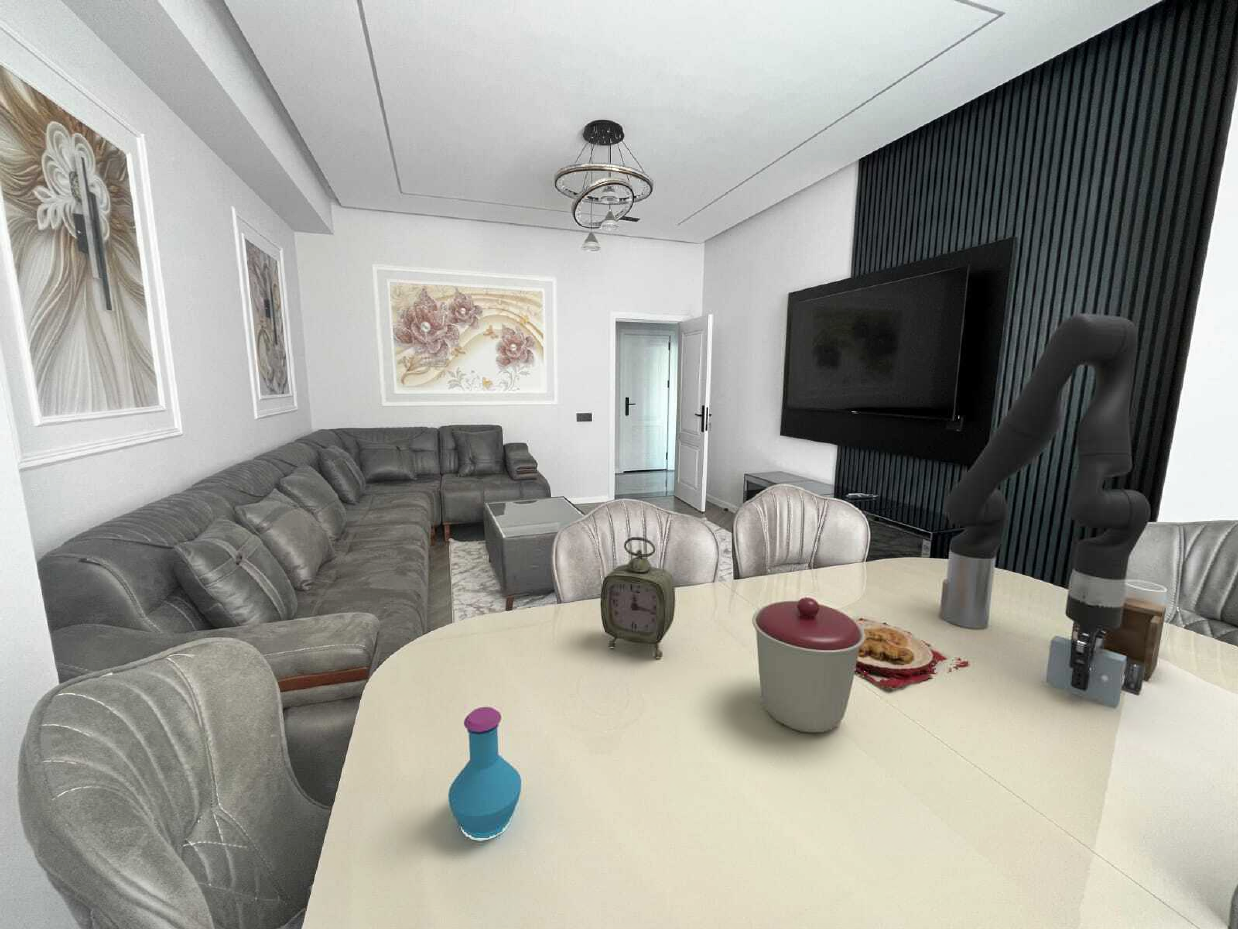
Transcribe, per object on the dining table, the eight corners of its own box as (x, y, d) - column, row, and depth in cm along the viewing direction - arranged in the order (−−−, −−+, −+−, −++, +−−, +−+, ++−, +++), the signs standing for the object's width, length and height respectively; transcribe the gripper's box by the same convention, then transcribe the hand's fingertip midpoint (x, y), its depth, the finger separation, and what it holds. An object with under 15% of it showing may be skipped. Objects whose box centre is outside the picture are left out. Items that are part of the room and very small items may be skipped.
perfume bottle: (458, 794, 72) (453, 695, 70) (525, 790, 73) (522, 692, 71) (441, 853, 63) (435, 741, 61) (518, 847, 64) (515, 737, 62)
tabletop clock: (600, 650, 112) (600, 538, 108) (616, 632, 120) (616, 528, 116) (664, 664, 106) (666, 547, 103) (676, 644, 115) (679, 535, 111)
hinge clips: (1060, 669, 105) (1063, 645, 104) (1063, 664, 107) (1067, 641, 106) (1138, 695, 96) (1142, 670, 95) (1141, 690, 98) (1145, 665, 97)
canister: (853, 694, 96) (861, 586, 93) (864, 760, 79) (875, 630, 76) (752, 676, 102) (757, 574, 99) (743, 734, 85) (748, 613, 82)
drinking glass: (1165, 660, 108) (1177, 592, 106) (1127, 657, 110) (1138, 589, 107) (1140, 645, 115) (1151, 580, 113) (1105, 641, 116) (1114, 578, 114)
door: (1043, 685, 99) (1049, 641, 98) (1049, 678, 102) (1055, 635, 100) (1114, 710, 91) (1121, 663, 90) (1119, 702, 94) (1126, 656, 92)
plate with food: (888, 698, 96) (890, 680, 96) (787, 633, 120) (788, 619, 119) (970, 670, 106) (972, 654, 106) (862, 616, 130) (864, 602, 130)
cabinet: (1068, 656, 110) (1076, 598, 108) (1079, 643, 115) (1087, 588, 113) (1148, 681, 100) (1158, 618, 98) (1156, 666, 106) (1166, 606, 104)
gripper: (1078, 581, 101) (1067, 662, 104) (1057, 599, 93) (1046, 687, 95) (1131, 594, 95) (1118, 679, 98) (1114, 614, 87) (1100, 707, 89)
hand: (1082, 682), depth 97 cm, fingers open, 5 cm apart
